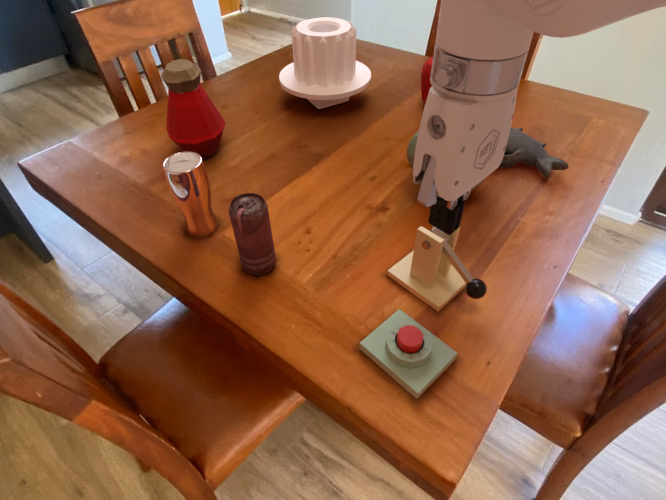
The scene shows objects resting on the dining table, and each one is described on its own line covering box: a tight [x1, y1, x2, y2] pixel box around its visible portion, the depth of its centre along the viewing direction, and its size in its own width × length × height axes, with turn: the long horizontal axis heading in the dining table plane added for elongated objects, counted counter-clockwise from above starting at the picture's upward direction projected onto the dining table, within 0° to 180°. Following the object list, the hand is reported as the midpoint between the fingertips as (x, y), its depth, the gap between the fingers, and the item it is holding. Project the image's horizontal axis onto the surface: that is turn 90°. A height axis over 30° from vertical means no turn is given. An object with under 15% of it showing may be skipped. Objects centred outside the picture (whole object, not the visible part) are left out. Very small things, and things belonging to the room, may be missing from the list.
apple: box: [420, 56, 433, 105], centre depth 113 cm, size 11×10×14 cm
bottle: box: [160, 59, 226, 160], centre depth 98 cm, size 16×14×20 cm
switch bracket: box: [386, 225, 466, 312], centre depth 70 cm, size 11×9×12 cm
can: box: [228, 192, 277, 276], centre depth 72 cm, size 6×6×14 cm
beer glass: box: [162, 151, 219, 238], centre depth 79 cm, size 7×7×15 cm
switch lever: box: [429, 227, 488, 300], centre depth 67 cm, size 13×3×3 cm
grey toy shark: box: [497, 127, 569, 179], centre depth 98 cm, size 5×25×15 cm
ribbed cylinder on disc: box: [278, 16, 372, 110], centre depth 115 cm, size 25×25×19 cm
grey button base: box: [358, 308, 458, 400], centre depth 63 cm, size 11×9×4 cm
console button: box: [397, 325, 423, 353], centre depth 61 cm, size 4×4×2 cm
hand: (443, 226), depth 50 cm, fingers closed
